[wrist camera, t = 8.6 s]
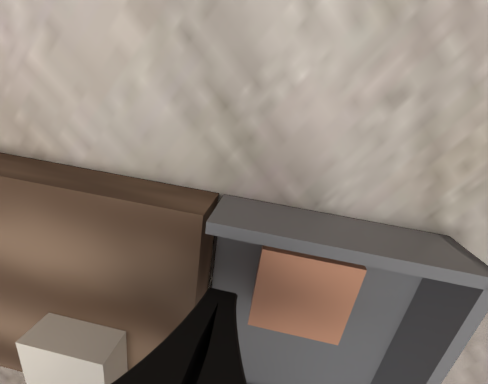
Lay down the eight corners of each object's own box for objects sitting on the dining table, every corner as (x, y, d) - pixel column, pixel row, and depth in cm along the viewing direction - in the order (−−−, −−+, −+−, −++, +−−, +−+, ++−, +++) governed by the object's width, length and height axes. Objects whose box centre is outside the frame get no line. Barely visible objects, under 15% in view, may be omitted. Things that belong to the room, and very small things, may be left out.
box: (361, 411, 18) (379, 478, 15) (202, 371, 19) (186, 426, 16) (449, 236, 13) (507, 280, 10) (223, 194, 14) (206, 221, 11)
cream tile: (128, 386, 16) (108, 422, 14) (59, 368, 16) (30, 401, 15) (126, 331, 14) (102, 365, 12) (48, 312, 15) (15, 342, 13)
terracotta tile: (247, 324, 14) (251, 298, 15) (338, 345, 13) (330, 315, 15) (262, 249, 12) (265, 229, 14) (367, 270, 11) (355, 247, 13)
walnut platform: (199, 370, 19) (184, 415, 16) (26, 326, 20) (-15, 362, 18) (218, 193, 14) (203, 215, 11) (-15, 150, 15) (-83, 160, 12)
